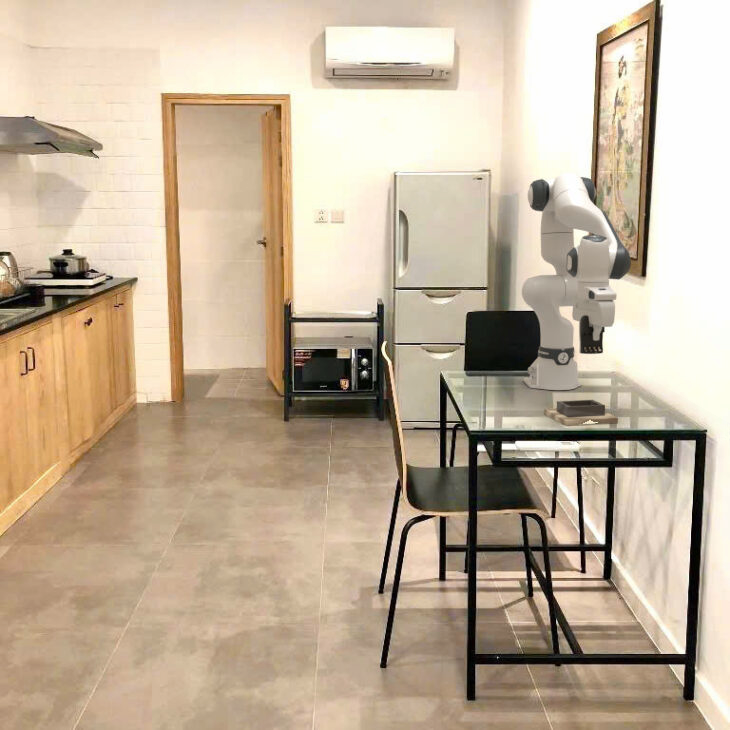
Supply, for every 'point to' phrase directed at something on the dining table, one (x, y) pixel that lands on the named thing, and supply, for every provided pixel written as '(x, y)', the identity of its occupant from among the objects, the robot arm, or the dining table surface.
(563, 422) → the dock
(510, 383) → the dining table surface
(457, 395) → the dining table surface
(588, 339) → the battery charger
